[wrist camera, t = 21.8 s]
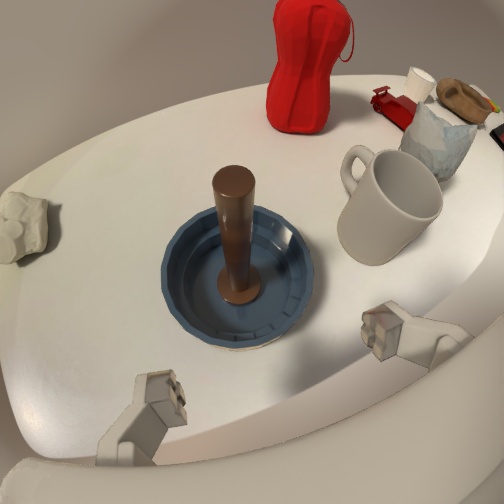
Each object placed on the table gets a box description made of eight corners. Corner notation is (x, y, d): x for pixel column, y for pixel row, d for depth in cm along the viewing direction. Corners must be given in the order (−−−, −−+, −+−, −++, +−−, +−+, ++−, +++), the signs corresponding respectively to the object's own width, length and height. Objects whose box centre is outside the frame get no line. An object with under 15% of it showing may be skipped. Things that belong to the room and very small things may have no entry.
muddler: (263, 303, 27) (290, 215, 12) (220, 309, 27) (187, 227, 11) (257, 263, 29) (271, 144, 13) (215, 268, 29) (186, 152, 13)
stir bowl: (310, 340, 27) (327, 333, 21) (182, 357, 26) (165, 355, 20) (287, 226, 32) (295, 197, 26) (174, 239, 31) (160, 212, 25)
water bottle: (338, 140, 38) (384, -6, 15) (267, 135, 38) (282, -28, 15) (326, 105, 42) (356, -20, 19) (264, 101, 41) (274, -34, 18)
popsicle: (479, 99, 55) (481, 95, 53) (495, 105, 57) (497, 102, 55) (489, 110, 53) (491, 107, 51) (504, 115, 55) (506, 112, 53)
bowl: (460, 129, 42) (470, 91, 34) (421, 102, 50) (428, 68, 43) (492, 133, 44) (502, 102, 36) (458, 108, 53) (465, 79, 45)
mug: (407, 247, 31) (456, 202, 21) (363, 279, 29) (412, 237, 19) (355, 177, 35) (383, 120, 25) (307, 199, 33) (328, 135, 23)
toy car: (366, 105, 43) (373, 86, 38) (380, 100, 44) (387, 82, 40) (423, 153, 39) (435, 134, 34) (433, 144, 40) (445, 127, 36)
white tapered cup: (430, 107, 46) (442, 86, 40) (410, 103, 45) (421, 80, 39) (415, 90, 49) (425, 69, 42) (395, 85, 48) (404, 63, 42)
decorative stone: (51, 250, 28) (-15, 242, 19) (38, 274, 32) (-16, 269, 24) (54, 182, 31) (-2, 170, 23) (39, 213, 35) (-10, 205, 27)
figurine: (436, 177, 37) (481, 116, 23) (430, 214, 33) (488, 150, 20) (388, 146, 38) (424, 77, 25) (376, 180, 35) (421, 101, 22)
